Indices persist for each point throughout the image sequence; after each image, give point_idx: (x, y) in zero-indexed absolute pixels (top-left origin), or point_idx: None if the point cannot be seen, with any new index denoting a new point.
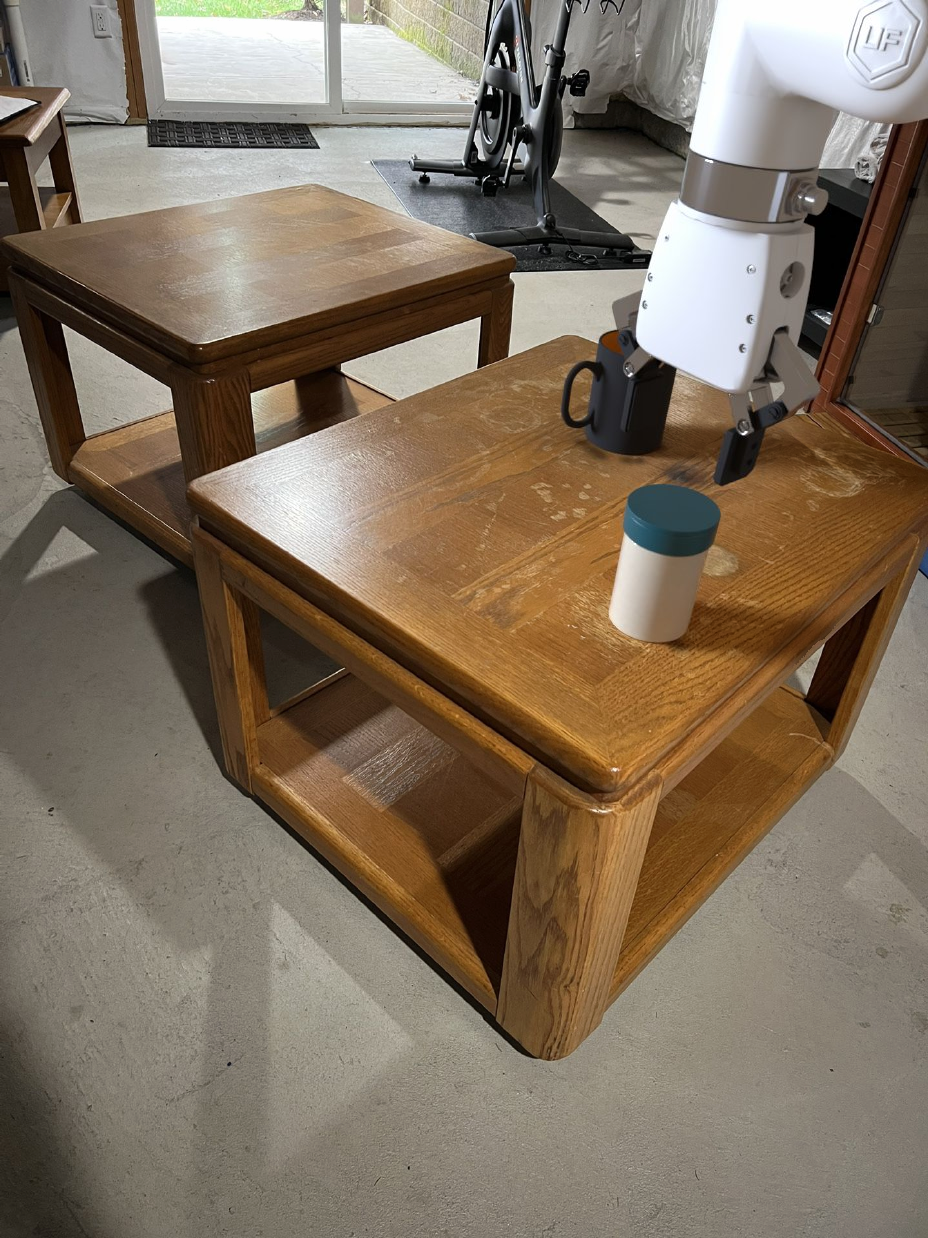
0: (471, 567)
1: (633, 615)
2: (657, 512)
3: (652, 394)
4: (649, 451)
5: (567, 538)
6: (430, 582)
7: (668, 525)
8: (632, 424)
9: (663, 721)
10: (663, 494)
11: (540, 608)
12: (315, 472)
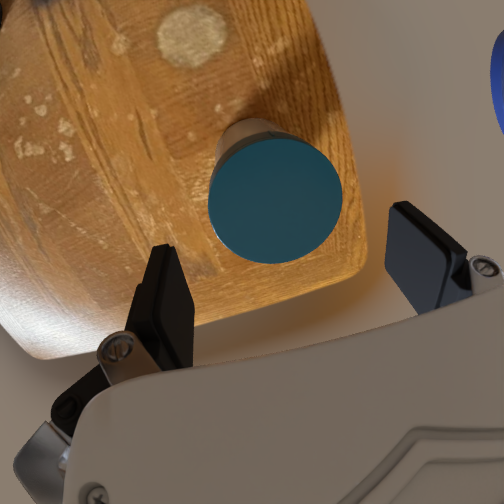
0: (130, 263)
1: None
2: (279, 235)
3: (175, 317)
4: (1, 13)
5: (104, 161)
6: None
7: (311, 239)
8: (192, 310)
9: (358, 223)
10: (241, 199)
11: (202, 237)
12: (8, 307)
